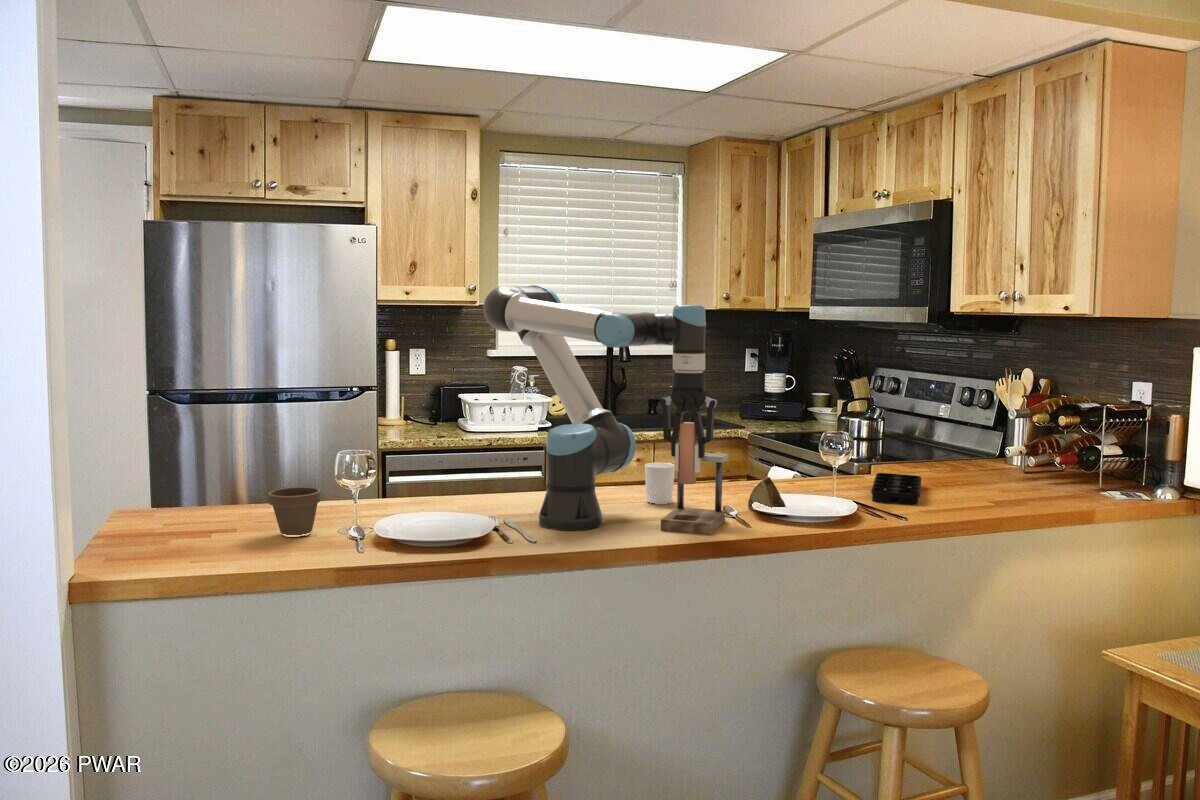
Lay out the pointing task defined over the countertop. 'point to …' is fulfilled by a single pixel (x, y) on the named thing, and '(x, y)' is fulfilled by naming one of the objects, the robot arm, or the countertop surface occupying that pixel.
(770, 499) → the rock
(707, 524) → the socket board
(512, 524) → the countertop surface
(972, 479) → the countertop surface
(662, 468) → the white cup
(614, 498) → the countertop surface
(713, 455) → the two-post gate frame
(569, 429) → the robot arm
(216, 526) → the countertop surface
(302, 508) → the flower pot
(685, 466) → the peg
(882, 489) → the egg carton
